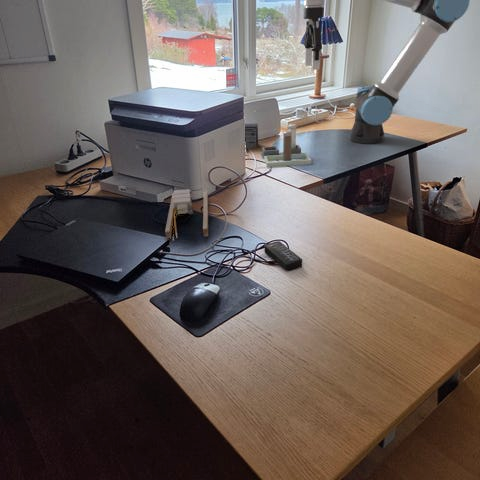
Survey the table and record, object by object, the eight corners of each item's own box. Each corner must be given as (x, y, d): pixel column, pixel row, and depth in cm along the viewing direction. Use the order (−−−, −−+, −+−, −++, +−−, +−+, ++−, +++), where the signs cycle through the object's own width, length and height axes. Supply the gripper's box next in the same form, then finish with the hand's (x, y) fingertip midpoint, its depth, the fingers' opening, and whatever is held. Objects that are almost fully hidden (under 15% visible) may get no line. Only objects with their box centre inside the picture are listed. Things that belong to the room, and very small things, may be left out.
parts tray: (306, 159, 170) (306, 153, 169) (311, 166, 162) (311, 160, 161) (264, 162, 170) (264, 155, 168) (267, 169, 162) (266, 163, 160)
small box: (258, 146, 190) (258, 122, 185) (257, 150, 184) (257, 126, 180) (235, 146, 191) (234, 123, 186) (233, 150, 186) (232, 126, 181)
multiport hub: (286, 273, 98) (286, 264, 97) (263, 252, 106) (263, 244, 105) (302, 268, 99) (303, 259, 98) (278, 248, 108) (278, 240, 107)
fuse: (295, 153, 175) (295, 123, 169) (296, 155, 172) (297, 125, 166) (287, 153, 175) (287, 124, 169) (288, 155, 172) (288, 126, 166)
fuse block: (298, 153, 177) (298, 144, 175) (302, 158, 171) (302, 149, 169) (260, 156, 177) (260, 146, 175) (262, 161, 170) (262, 151, 169)
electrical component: (194, 248, 116) (193, 234, 113) (172, 250, 116) (170, 236, 112) (192, 200, 135) (191, 187, 131) (173, 202, 134) (171, 188, 131)
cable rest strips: (207, 197, 140) (207, 190, 139) (208, 236, 115) (207, 228, 114) (173, 199, 139) (172, 192, 138) (166, 239, 115) (165, 231, 113)
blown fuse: (290, 161, 167) (291, 130, 162) (292, 163, 164) (292, 132, 159) (282, 161, 167) (282, 131, 161) (283, 164, 164) (283, 133, 158)
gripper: (297, 7, 169) (296, 64, 179) (311, 6, 147) (309, 71, 157) (316, 6, 169) (314, 63, 179) (332, 5, 147) (329, 70, 157)
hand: (311, 67), depth 168 cm, fingers open, 13 cm apart
